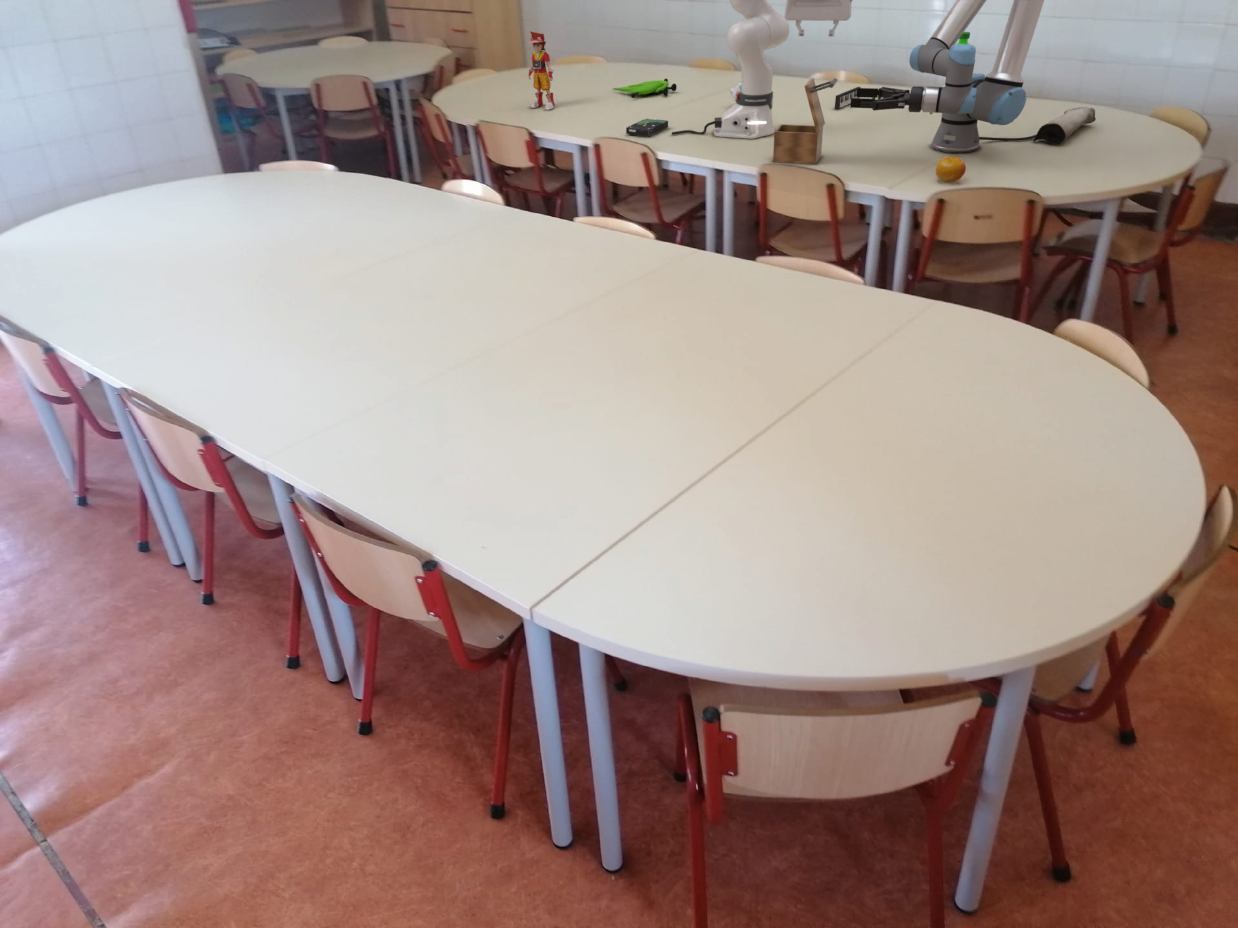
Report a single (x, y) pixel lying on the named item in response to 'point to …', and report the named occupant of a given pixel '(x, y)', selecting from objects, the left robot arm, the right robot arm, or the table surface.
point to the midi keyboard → (845, 98)
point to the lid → (817, 101)
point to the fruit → (950, 169)
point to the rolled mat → (1065, 125)
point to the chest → (797, 144)
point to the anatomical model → (735, 89)
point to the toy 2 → (648, 88)
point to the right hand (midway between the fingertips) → (853, 97)
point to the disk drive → (647, 127)
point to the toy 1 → (541, 71)
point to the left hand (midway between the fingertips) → (816, 36)
